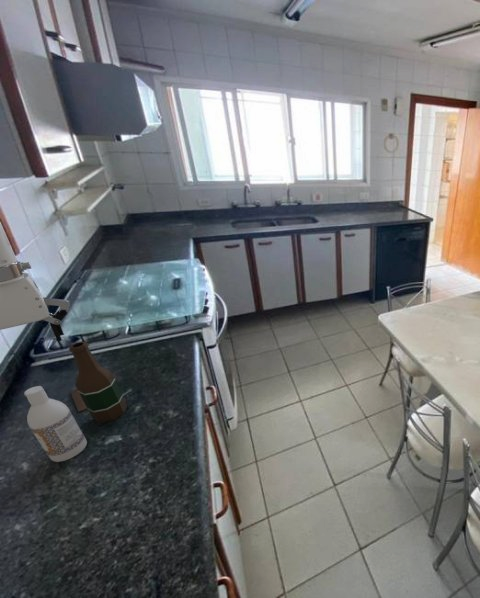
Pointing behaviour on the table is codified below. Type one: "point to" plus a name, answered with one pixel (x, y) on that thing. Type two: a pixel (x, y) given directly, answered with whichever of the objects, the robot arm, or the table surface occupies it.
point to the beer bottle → (97, 386)
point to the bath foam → (54, 426)
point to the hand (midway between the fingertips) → (28, 346)
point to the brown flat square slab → (79, 400)
